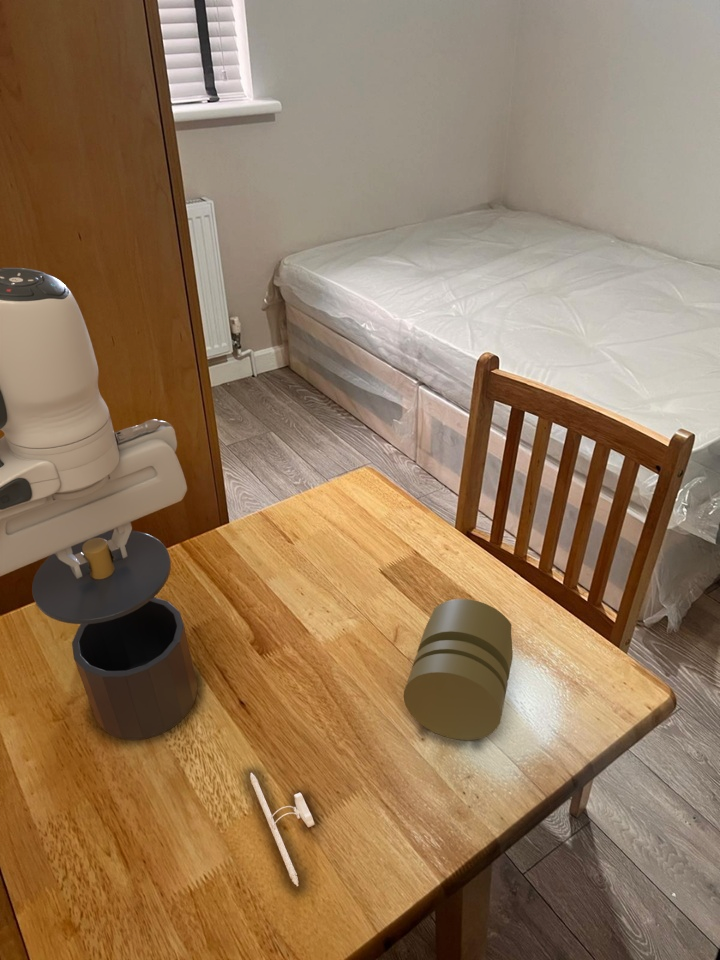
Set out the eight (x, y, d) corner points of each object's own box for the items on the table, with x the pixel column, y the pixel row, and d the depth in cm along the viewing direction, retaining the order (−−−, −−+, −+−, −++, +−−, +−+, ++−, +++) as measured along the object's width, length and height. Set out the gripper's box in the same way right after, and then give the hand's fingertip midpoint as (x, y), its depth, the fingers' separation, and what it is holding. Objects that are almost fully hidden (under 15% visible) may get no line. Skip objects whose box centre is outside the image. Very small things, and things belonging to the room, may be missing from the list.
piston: (510, 672, 95) (520, 609, 88) (496, 749, 85) (505, 686, 79) (425, 653, 98) (429, 591, 91) (402, 725, 88) (404, 662, 82)
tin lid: (39, 646, 68) (24, 610, 65) (31, 558, 78) (19, 524, 76) (184, 603, 72) (176, 568, 70) (159, 525, 83) (151, 492, 80)
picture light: (248, 776, 83) (246, 765, 82) (283, 760, 85) (282, 749, 83) (294, 889, 73) (293, 878, 72) (334, 869, 74) (333, 858, 73)
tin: (101, 754, 86) (77, 690, 79) (90, 676, 95) (68, 614, 89) (206, 718, 90) (192, 655, 83) (185, 647, 99) (171, 585, 93)
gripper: (157, 401, 73) (179, 510, 81) (-62, 474, 63) (-12, 591, 71) (186, 426, 69) (206, 538, 77) (-43, 509, 59) (7, 629, 67)
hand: (100, 565), depth 74 cm, fingers closed on tin lid, 2 cm apart
